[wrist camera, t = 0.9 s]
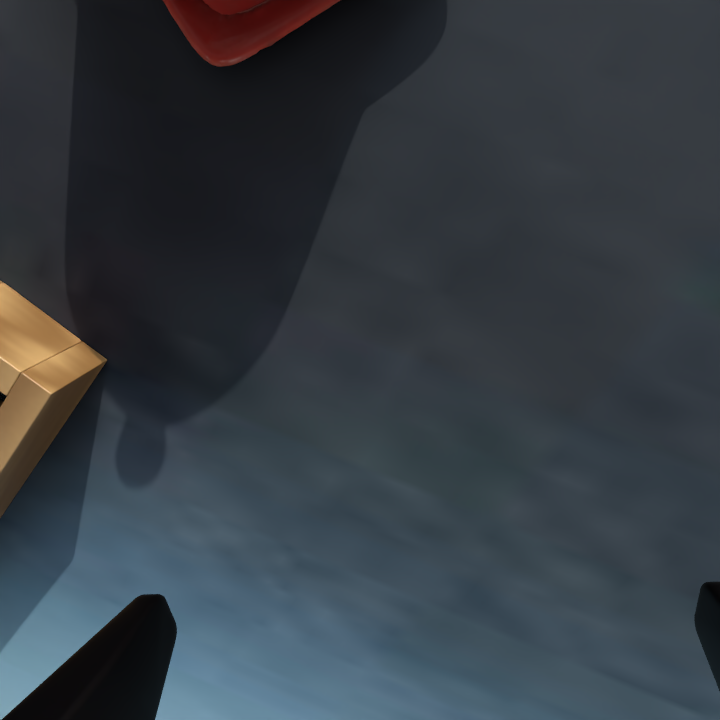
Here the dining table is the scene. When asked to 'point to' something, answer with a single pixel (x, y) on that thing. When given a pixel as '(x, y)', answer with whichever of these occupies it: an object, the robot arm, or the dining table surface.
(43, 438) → the tube rack
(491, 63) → the dining table surface
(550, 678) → the dining table surface
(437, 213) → the dining table surface
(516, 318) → the dining table surface
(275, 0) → the butter dish
